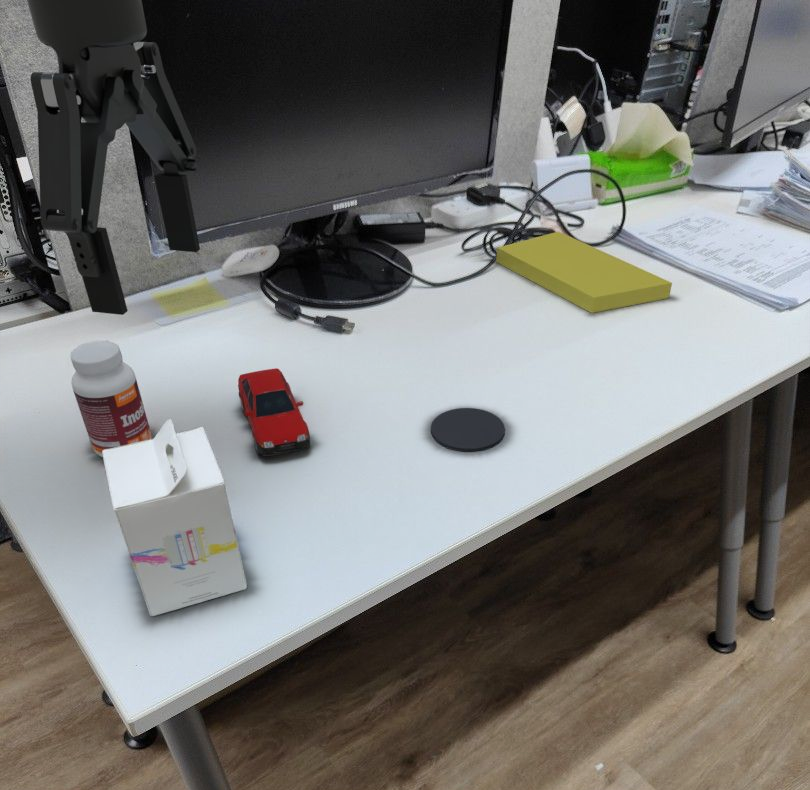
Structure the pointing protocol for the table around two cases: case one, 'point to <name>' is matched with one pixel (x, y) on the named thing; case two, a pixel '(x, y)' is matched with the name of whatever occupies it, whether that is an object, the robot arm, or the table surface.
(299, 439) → the toy car
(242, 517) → the table surface
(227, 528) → the ink box
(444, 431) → the coaster
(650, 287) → the flat mustard tile
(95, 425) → the pill bottle
